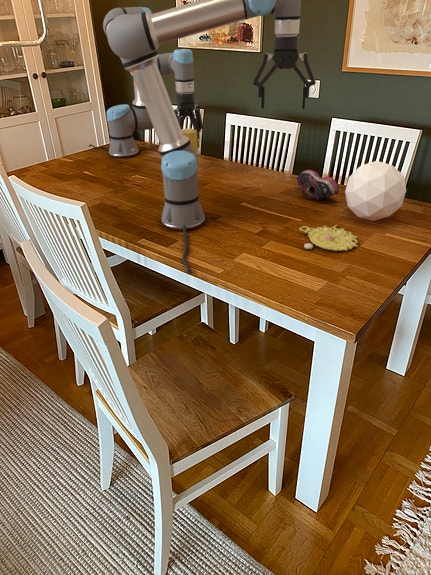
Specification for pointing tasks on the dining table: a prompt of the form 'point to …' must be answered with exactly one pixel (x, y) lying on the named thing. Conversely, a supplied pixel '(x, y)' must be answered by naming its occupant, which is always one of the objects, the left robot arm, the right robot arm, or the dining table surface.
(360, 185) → the sphere
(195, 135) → the can
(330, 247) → the decorative object
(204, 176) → the dining table surface
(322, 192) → the athletic shoe
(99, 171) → the dining table surface
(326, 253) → the dining table surface
